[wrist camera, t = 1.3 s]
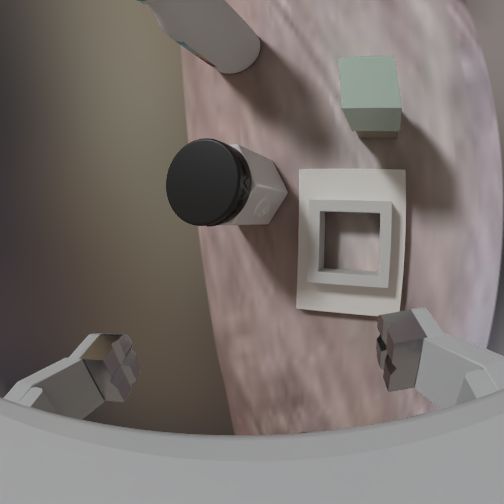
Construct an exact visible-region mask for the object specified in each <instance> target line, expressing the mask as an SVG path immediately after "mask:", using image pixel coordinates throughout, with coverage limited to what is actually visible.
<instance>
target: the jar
mask: <svg viewBox="0 0 504 504" xmlns="http://www.w3.org/2000/svg"><path fill="white" fill-rule="evenodd" d="M166 191H167V197H168V200H169V203H170V205H171V207H172V209H173V211H174V212H175V213H176V214H177V216H178V217H179V218H181V219H182V220H183V221H185V222H187V223H189V224H192V225H197V226H216V225H267V224H269V222H270V221H271V219H272V218H273V216H274V214H275V213H276V211H277V210H278V208H279V207H280V205H281V203H282V202H283V200H284V199H285V197H286V195H287V194H288V192H287V189H286V187H285V185H284V183H283V181H282V179H281V177H280V175H279V173H278V171H277V169H276V167H275V165H274V163H273V161H272V160H270V159H268V158H266V157H264V156H262V155H260V154H258V153H255V152H253V151H251V150H249V149H247V148H245V147H242V146H240V145H238V144H232V145H227V144H225V143H223V142H220V141H218V140H214V139H199V140H195V141H193V142H191V143H189V144H187V145H186V146H185V147H183V148H182V149H181V150H180V151H179V152H178V153H177V155H176V156H175V157H174V159H173V161H172V163H171V165H170V167H169V170H168V174H167V181H166Z"/></svg>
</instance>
